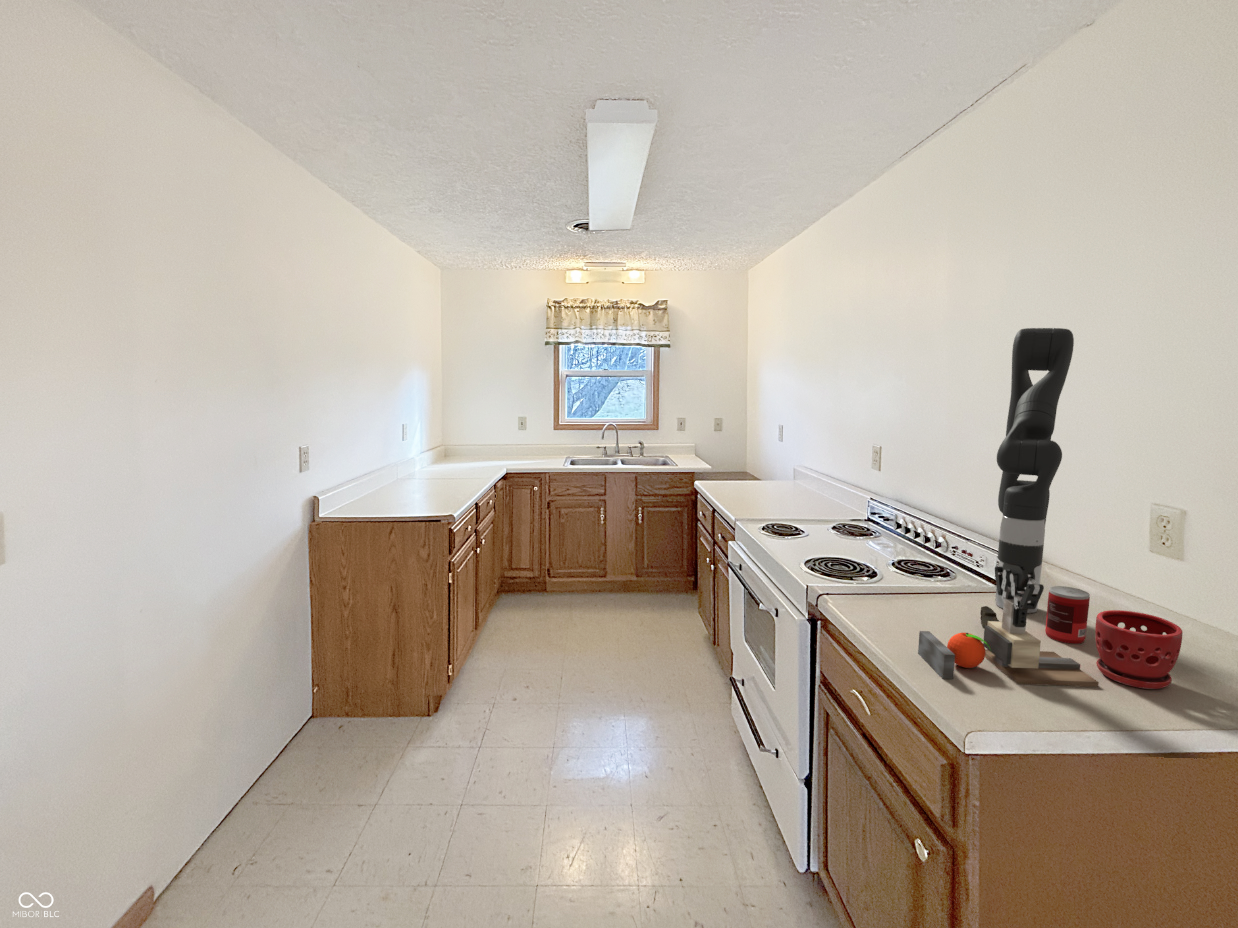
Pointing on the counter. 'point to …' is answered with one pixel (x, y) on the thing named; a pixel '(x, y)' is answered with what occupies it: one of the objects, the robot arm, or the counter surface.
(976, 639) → the clementine
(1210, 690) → the counter surface
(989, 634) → the jaw
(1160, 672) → the plant pot
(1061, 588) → the canned food
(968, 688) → the counter surface
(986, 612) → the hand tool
